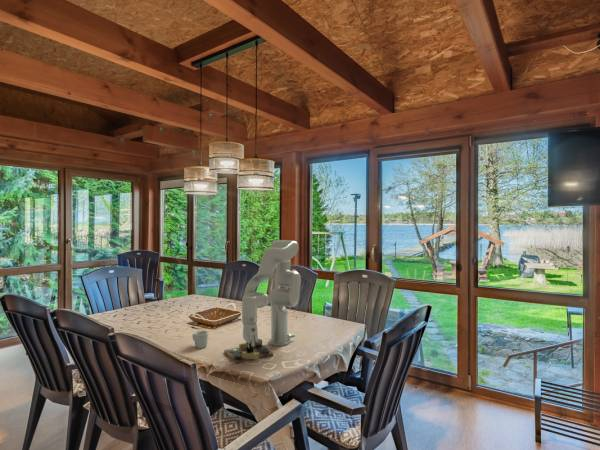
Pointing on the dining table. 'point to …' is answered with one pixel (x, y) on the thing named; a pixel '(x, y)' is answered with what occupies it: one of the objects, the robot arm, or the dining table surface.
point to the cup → (200, 339)
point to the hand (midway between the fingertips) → (249, 354)
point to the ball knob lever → (258, 344)
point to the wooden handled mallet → (246, 355)
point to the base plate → (230, 352)
